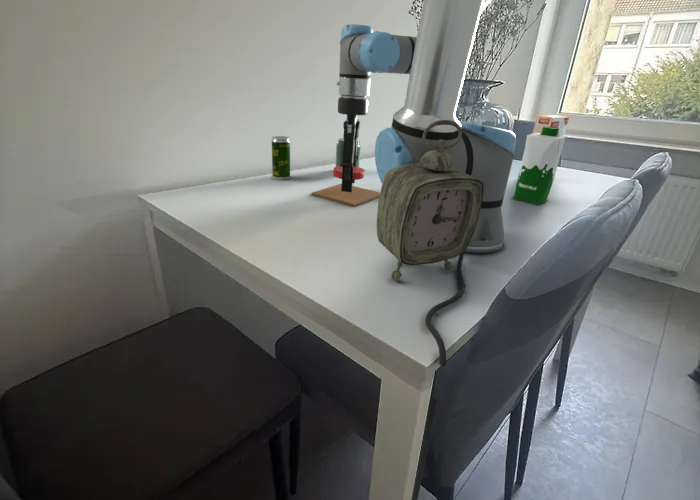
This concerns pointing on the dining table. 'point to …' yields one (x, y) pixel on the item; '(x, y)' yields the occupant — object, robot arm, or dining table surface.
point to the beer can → (281, 157)
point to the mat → (347, 195)
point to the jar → (340, 152)
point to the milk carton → (539, 165)
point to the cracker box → (551, 123)
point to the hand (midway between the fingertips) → (348, 186)
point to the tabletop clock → (428, 208)
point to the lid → (357, 172)
